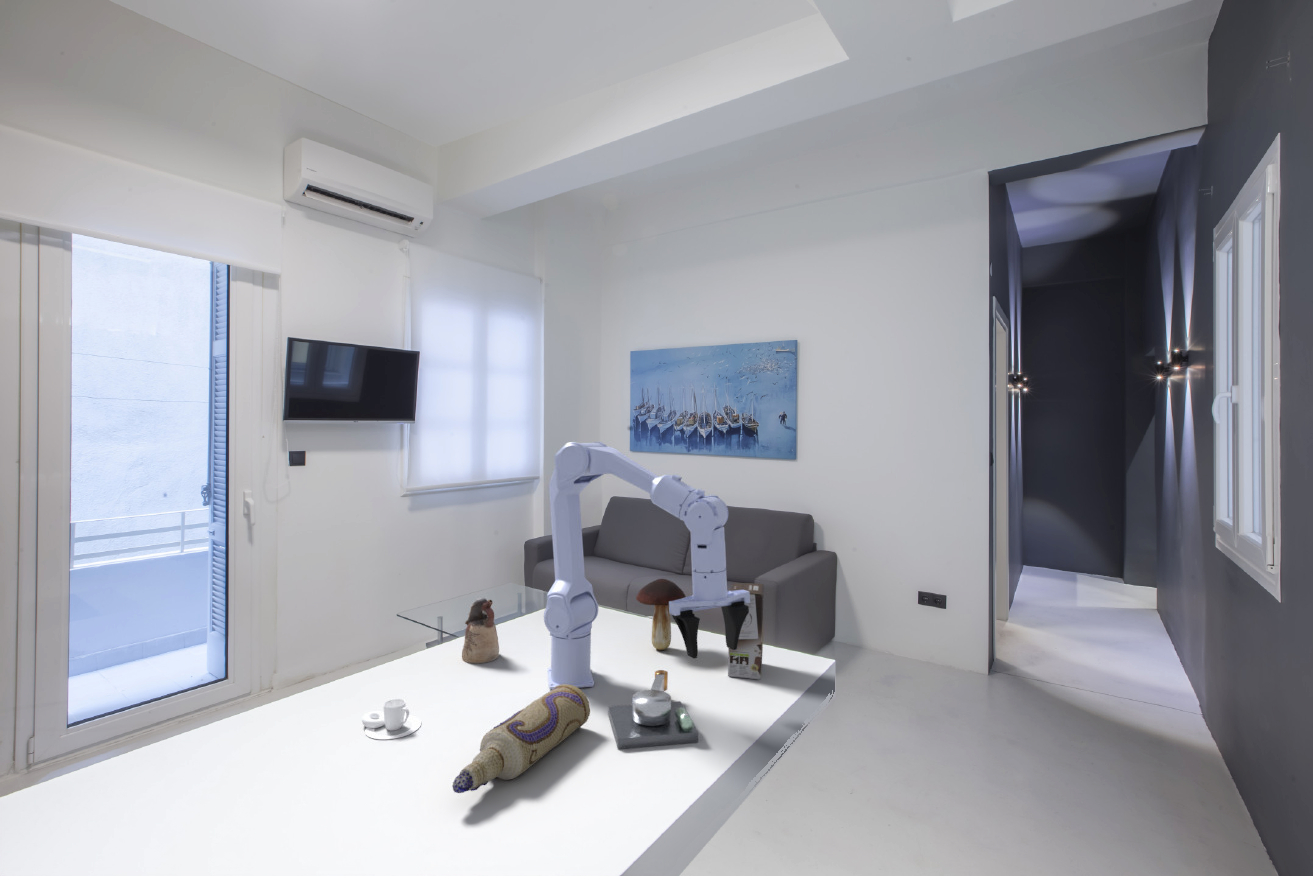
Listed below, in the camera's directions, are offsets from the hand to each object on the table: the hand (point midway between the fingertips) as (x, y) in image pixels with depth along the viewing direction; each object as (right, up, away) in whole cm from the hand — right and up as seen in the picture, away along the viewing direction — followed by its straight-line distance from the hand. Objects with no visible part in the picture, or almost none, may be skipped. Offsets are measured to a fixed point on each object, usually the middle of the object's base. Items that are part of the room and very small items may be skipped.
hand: (712, 652), depth 104 cm
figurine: (-45, -9, +23) cm, 51 cm away
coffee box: (+8, -10, +19) cm, 23 cm away
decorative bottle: (-28, -10, -16) cm, 34 cm away
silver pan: (-9, -8, -2) cm, 12 cm away
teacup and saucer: (-50, -10, -5) cm, 51 cm away
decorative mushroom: (-8, -10, +30) cm, 32 cm away
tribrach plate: (-10, -10, -6) cm, 15 cm away
